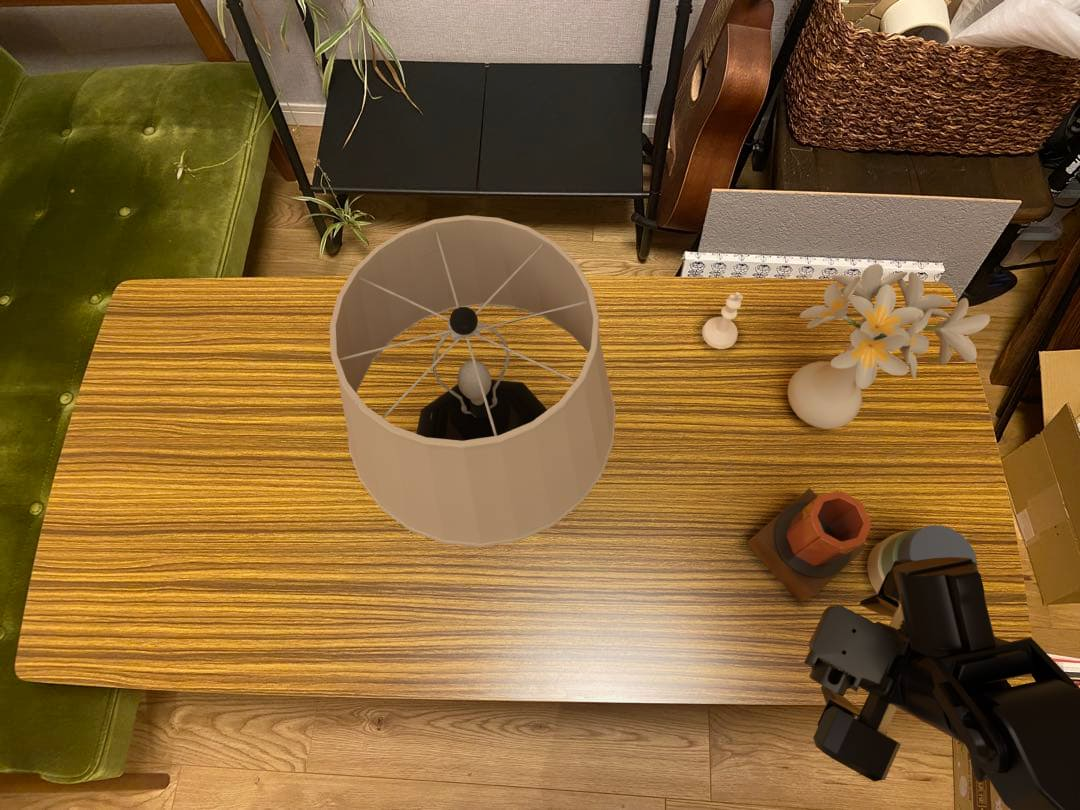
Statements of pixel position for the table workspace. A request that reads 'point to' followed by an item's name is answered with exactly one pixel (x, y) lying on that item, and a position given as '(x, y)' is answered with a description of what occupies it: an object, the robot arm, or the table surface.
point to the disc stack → (916, 549)
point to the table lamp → (473, 384)
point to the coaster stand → (784, 563)
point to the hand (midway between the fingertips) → (845, 646)
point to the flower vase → (875, 342)
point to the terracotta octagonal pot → (842, 520)
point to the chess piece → (723, 325)
